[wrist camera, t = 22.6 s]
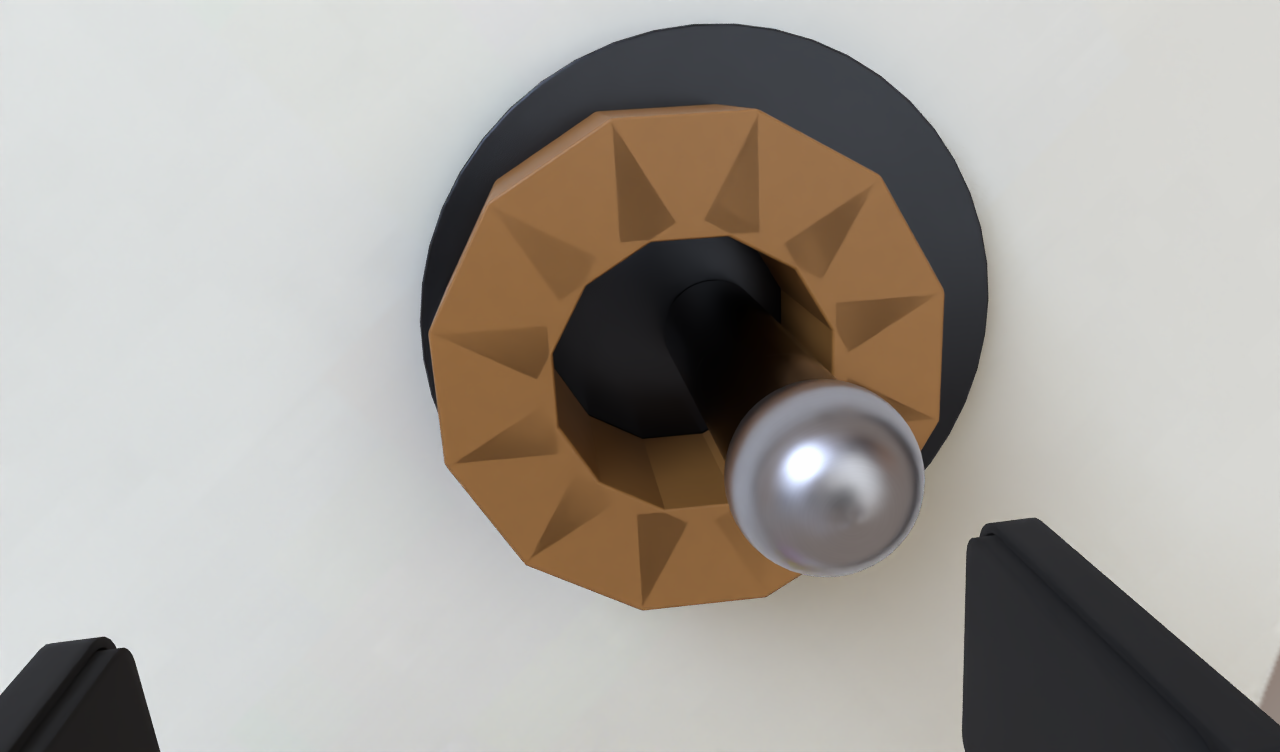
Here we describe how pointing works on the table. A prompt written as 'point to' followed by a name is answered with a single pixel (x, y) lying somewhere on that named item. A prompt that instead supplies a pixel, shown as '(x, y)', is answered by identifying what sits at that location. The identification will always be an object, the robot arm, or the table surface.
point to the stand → (748, 293)
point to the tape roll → (598, 241)
